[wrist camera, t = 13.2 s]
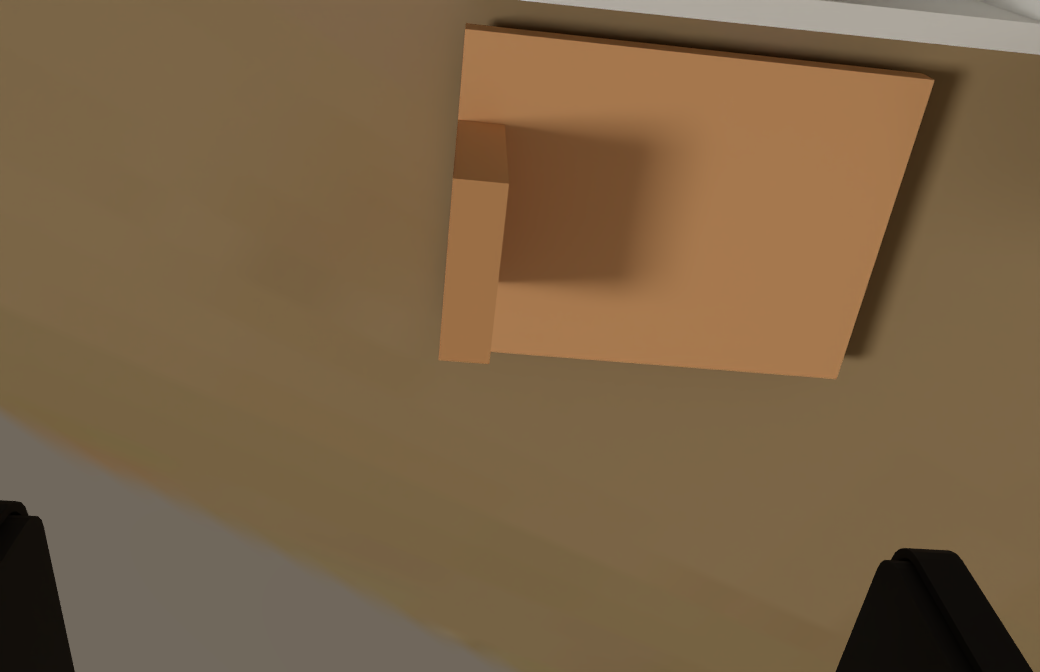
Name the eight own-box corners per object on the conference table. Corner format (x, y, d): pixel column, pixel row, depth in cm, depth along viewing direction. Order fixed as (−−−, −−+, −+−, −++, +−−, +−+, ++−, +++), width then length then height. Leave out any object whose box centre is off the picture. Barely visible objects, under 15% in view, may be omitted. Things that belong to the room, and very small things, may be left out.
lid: (466, 16, 31) (461, 71, 24) (908, 65, 33) (1027, 130, 26) (442, 321, 37) (432, 437, 30) (819, 351, 38) (895, 470, 31)
